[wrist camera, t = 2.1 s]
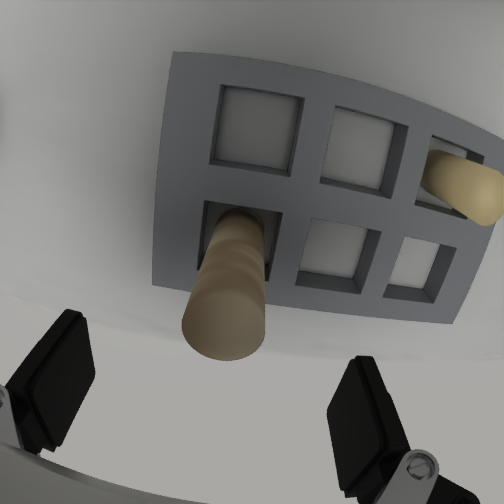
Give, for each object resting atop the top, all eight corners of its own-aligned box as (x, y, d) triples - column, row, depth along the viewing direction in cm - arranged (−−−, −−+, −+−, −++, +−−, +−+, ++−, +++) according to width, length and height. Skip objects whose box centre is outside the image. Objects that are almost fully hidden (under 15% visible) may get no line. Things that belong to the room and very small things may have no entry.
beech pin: (267, 211, 20) (272, 303, 11) (259, 255, 21) (257, 365, 12) (219, 203, 20) (183, 288, 11) (213, 247, 21) (180, 353, 12)
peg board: (499, 142, 17) (555, 159, 11) (441, 309, 23) (475, 357, 17) (182, 57, 16) (148, 36, 10) (160, 270, 22) (131, 322, 16)
